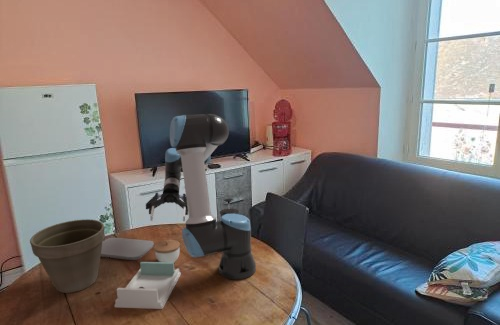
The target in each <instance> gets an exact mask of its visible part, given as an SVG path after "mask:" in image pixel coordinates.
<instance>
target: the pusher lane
mask: <svg viewBox="0 0 500 325" xmlns="http://www.w3.org/2000/svg"><path fill="white" fill-rule="evenodd" d="M174 271H175V273H174V274H173V275H141V268H139V270H138V271H137V272H136V274H134V276H133V277H132V278H131V280H130V281H129V282H128V284H127V285H126V286H125V287H117V289H116V295H117V298H116V299H115V300H114V302H115V304H114V308H120V309H121V308H125V309H148V310H150V309H154V310H155V309H156V310H163V309H164V307H165V305H166V303H167V301H168V299H169V298H170V296H171V294H172V292H173V290H174V288H175V286H176V284H177V283H178V280H179V279H180V276H181V274H182V273H181V271H180V268H175V269H174Z"/></svg>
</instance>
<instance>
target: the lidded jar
mask: <svg viewBox="0 0 500 325" xmlns="http://www.w3.org/2000/svg"><path fill="white" fill-rule="evenodd" d="M153 249H154V254H155V258H156V260H157V262H173V263H176V261H177V260H178V258H179V256H180V251H181V250H180V249H181V248H180V242H179V241H178V240H176V239H175V240H174V239H166V240H161V241H159V242H157V243H156V244H154V245H153Z"/></svg>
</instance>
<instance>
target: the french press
mask: <svg viewBox="0 0 500 325" xmlns="http://www.w3.org/2000/svg"><path fill="white" fill-rule="evenodd" d="M223 201H224V202H225V203H226V202H227V204H228V206H230V204H231V202H233V201H234V199H233V198H225V199H224V200H223ZM239 213H240V212H239V210H238V209H236V208H225V209H222V210H220V211H219V215H220V218H221V217H222V216H223V215H225V214H239Z"/></svg>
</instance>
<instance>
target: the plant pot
mask: <svg viewBox="0 0 500 325" xmlns="http://www.w3.org/2000/svg"><path fill="white" fill-rule="evenodd" d="M105 234H106V233H105V225H104V223H103V222H102V221H100V220H97V219H84V218H83V219H75V220H68V221H65V222H60V223H55V224H53V225H51V226H48V227H45V228H43V229H41V230H39V231H38V232H36V233H35V234H33V235H32V236H31V238H30V240H29V243H30V247H31V250H32V254H33V255H34V256H35V257H37V258H38V260H39V262H40V264H41V265H42V267H43V269H44V270H45V273H46V274H47V276H48V277H49V280H50V281H51V282H52V283H51V284H52V285H53V286H54V288H55V289H56V290H57V291H58V292H60V293H65V294H68V293H69V294H70V293H77V292H80V291H82V290H85V289H87V288H89V287H91V286H92V285H93V284H94V283H96V282H97V279H98V275H99V269H100V263H101V249H102V242H103V241H104V240H105V238H106V235H105Z"/></svg>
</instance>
